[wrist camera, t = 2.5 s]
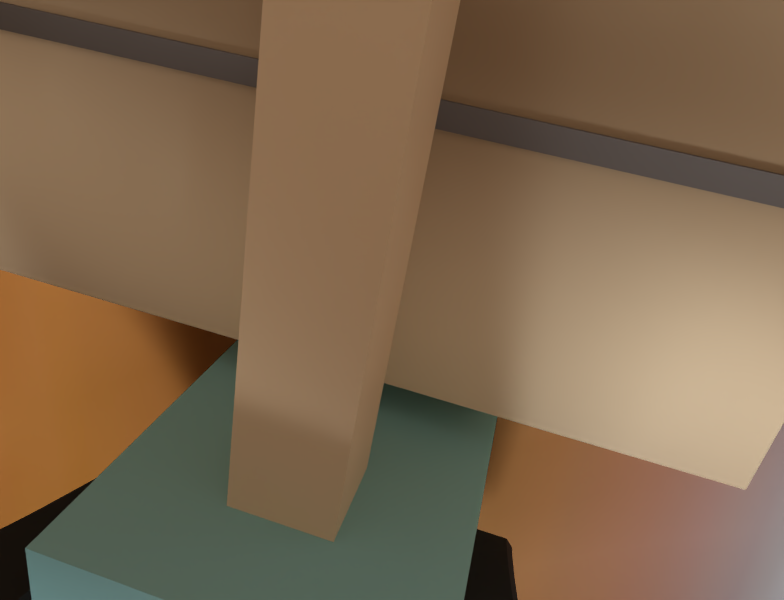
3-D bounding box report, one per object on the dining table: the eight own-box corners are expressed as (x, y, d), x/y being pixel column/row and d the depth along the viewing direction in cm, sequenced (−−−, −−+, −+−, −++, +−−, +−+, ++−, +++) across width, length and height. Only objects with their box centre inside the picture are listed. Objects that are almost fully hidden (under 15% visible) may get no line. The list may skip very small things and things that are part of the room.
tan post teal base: (436, 604, 12) (357, 954, 7) (241, 536, 12) (61, 823, 8) (671, -170, 6) (886, -561, 2) (308, -223, 7) (-125, -610, 3)
